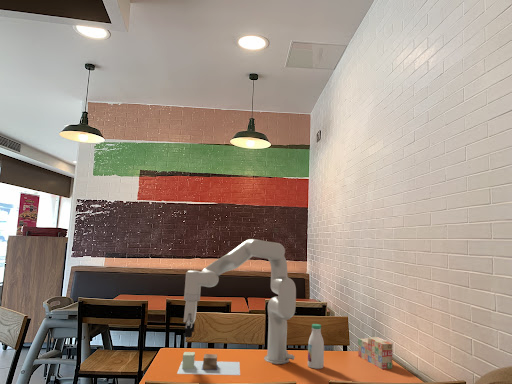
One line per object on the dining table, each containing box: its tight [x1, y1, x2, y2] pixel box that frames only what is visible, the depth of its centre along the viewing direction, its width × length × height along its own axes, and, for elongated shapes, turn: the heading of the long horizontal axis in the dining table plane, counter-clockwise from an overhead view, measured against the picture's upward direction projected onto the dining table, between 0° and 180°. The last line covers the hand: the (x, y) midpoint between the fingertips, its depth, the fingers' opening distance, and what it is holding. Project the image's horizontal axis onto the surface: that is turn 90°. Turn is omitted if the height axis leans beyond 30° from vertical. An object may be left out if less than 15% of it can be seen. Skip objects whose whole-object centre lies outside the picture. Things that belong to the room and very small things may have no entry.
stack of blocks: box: [357, 336, 394, 370], centre depth 203 cm, size 21×6×12 cm, turn 18°
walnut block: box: [202, 353, 218, 370], centre depth 182 cm, size 6×6×5 cm
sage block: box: [182, 351, 196, 369], centre depth 181 cm, size 5×5×6 cm
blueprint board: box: [176, 360, 241, 376], centre depth 182 cm, size 28×18×1 cm, turn 93°
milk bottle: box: [307, 323, 325, 370], centre depth 192 cm, size 8×8×20 cm
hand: (189, 334), depth 183 cm, fingers open, 9 cm apart
